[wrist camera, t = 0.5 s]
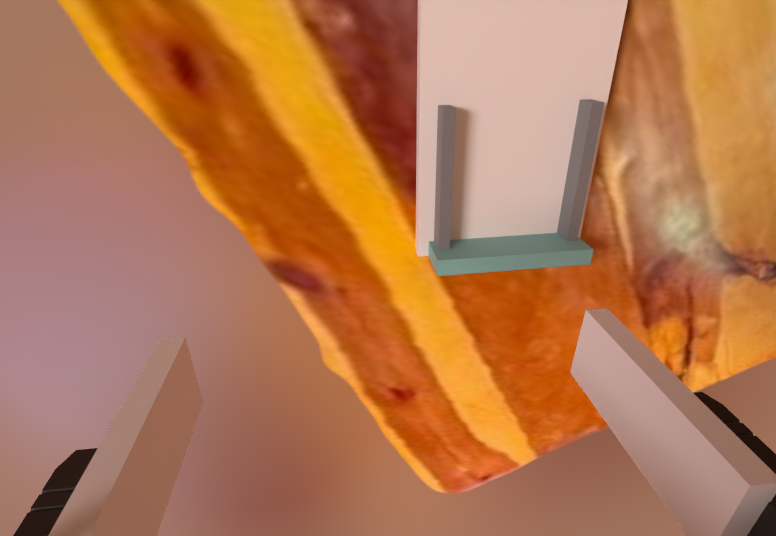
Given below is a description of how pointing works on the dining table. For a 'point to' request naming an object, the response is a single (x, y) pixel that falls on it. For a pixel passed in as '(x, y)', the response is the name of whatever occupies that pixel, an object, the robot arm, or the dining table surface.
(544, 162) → the board
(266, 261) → the dining table surface
